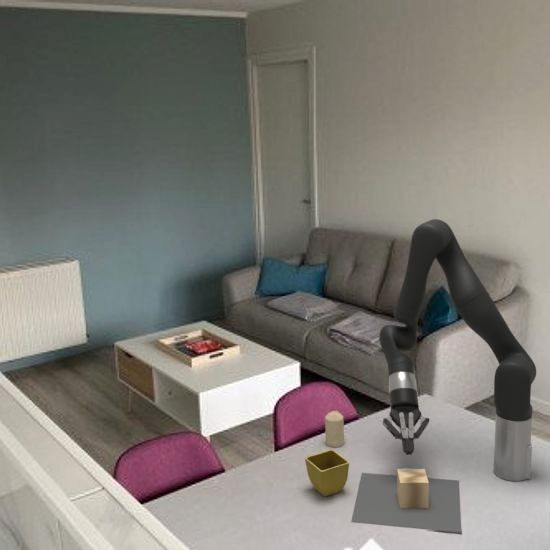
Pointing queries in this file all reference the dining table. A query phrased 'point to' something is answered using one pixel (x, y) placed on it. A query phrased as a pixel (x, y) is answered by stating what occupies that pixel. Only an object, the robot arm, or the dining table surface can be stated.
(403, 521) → the mat
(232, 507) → the dining table surface
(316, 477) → the flower pot
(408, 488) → the cube
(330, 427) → the candle
